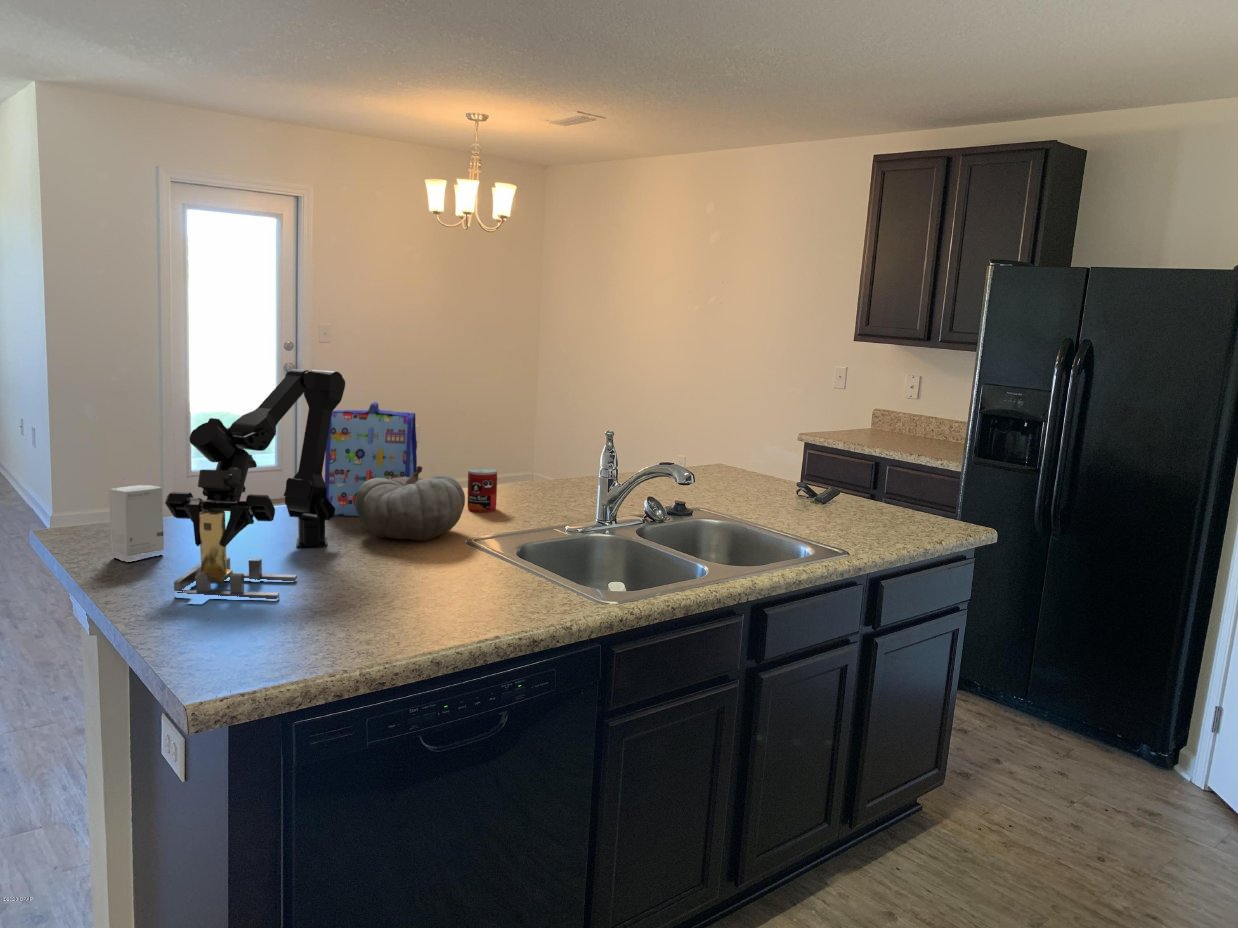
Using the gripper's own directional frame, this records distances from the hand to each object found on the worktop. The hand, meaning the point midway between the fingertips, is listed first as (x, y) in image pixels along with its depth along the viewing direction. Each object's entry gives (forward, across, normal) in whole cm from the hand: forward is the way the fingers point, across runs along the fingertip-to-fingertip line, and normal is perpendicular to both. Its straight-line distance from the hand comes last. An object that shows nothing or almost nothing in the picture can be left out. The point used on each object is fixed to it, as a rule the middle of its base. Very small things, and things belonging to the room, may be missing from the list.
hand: (210, 545), depth 166 cm
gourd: (-25, +29, +38) cm, 54 cm away
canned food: (-45, +43, +59) cm, 86 cm away
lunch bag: (-40, +15, +54) cm, 69 cm away
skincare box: (-8, -22, +21) cm, 32 cm away
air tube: (+4, 0, +6) cm, 7 cm away
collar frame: (+6, +4, +6) cm, 10 cm away
